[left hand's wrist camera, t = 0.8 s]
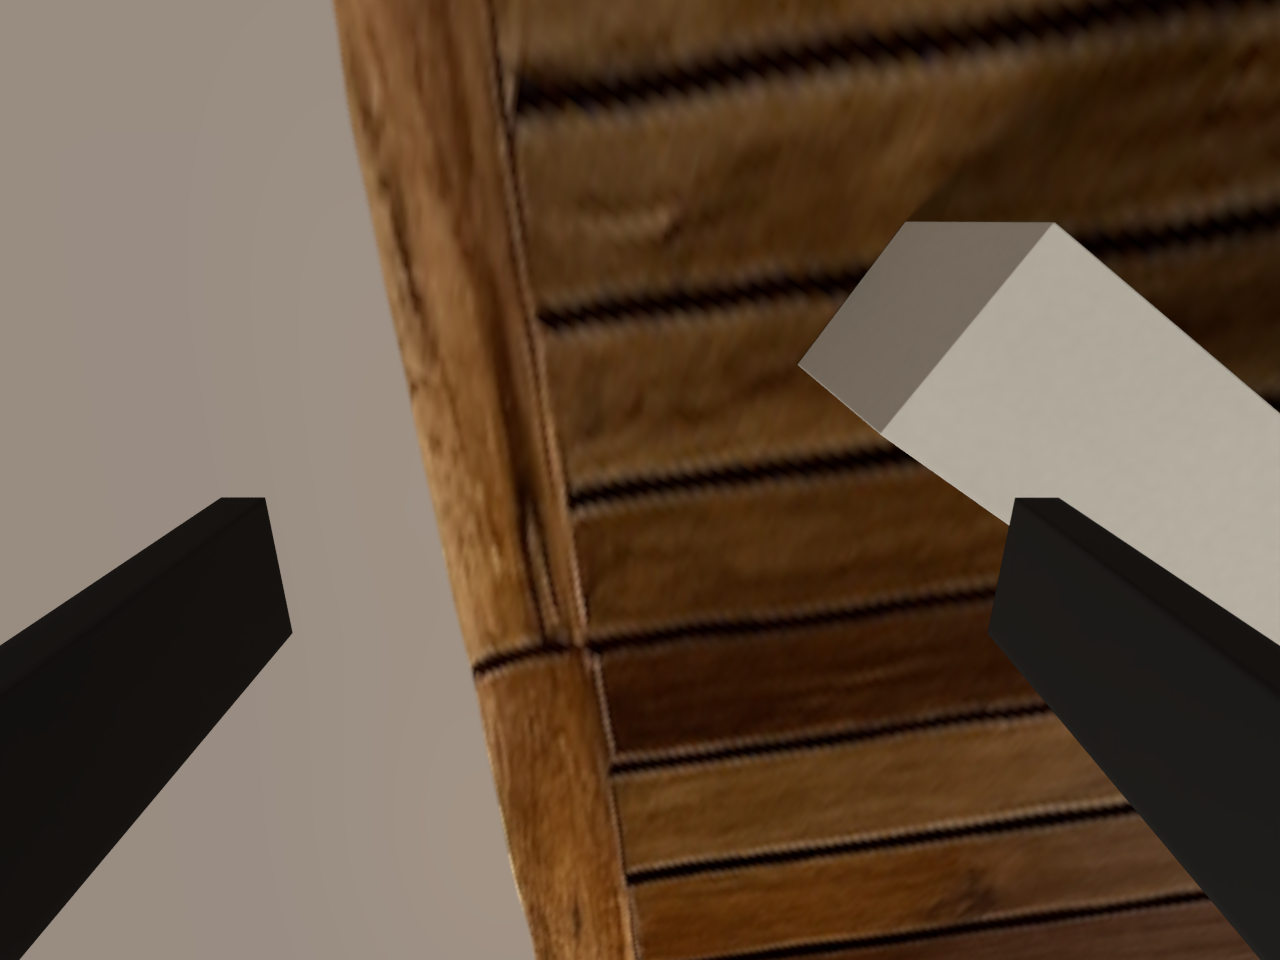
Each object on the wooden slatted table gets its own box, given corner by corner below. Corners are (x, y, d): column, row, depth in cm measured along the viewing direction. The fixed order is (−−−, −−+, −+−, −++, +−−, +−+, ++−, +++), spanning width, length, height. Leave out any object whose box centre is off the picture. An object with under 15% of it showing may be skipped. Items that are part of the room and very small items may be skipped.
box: (797, 364, 32) (879, 434, 22) (905, 221, 30) (1054, 221, 20) (1144, 611, 37) (1349, 765, 27) (1257, 502, 35) (1528, 623, 25)
